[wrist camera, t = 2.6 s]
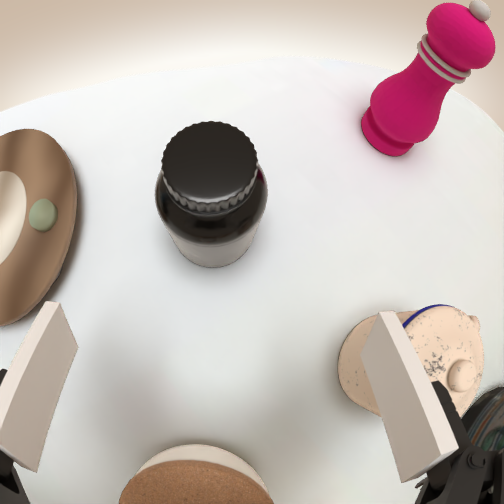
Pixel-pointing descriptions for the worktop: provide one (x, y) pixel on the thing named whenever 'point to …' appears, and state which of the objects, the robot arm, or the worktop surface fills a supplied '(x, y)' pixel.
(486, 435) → the beer stein
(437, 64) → the pepper mill
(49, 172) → the stand
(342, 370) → the teacup with lid
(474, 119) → the worktop surface
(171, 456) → the lidded jar
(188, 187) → the supplement bottle
